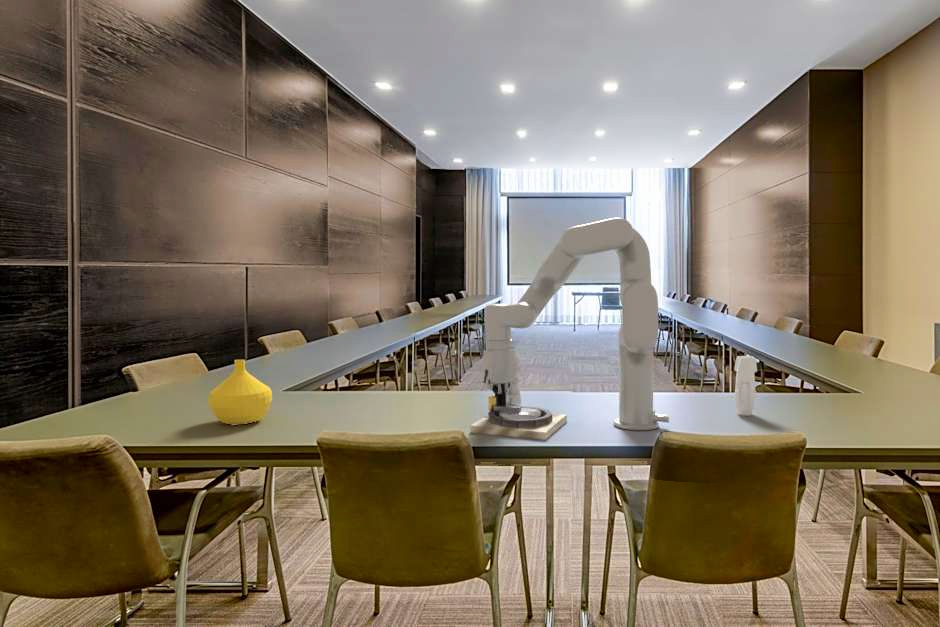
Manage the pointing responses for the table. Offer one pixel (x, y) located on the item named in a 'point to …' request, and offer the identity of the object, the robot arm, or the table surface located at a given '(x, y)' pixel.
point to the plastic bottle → (514, 386)
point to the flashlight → (745, 384)
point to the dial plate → (520, 431)
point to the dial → (512, 410)
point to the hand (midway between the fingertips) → (500, 406)
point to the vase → (240, 397)
